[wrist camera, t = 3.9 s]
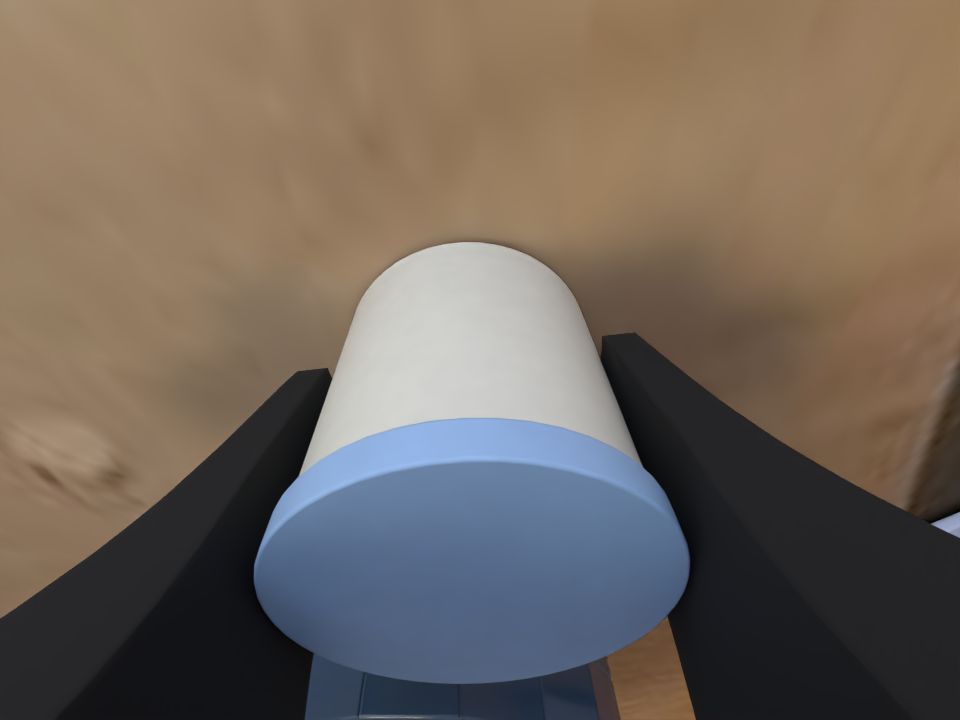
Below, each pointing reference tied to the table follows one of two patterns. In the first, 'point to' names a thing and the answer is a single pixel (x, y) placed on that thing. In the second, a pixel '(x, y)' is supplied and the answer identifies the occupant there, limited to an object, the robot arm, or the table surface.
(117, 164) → the table surface
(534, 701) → the bowl
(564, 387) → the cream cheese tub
